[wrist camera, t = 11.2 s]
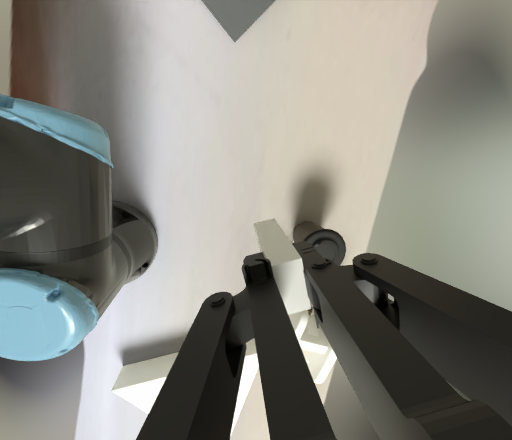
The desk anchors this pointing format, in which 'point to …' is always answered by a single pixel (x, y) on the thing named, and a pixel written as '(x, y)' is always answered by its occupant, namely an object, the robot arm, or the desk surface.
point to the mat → (237, 14)
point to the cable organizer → (313, 344)
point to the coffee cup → (321, 241)
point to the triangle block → (156, 370)
